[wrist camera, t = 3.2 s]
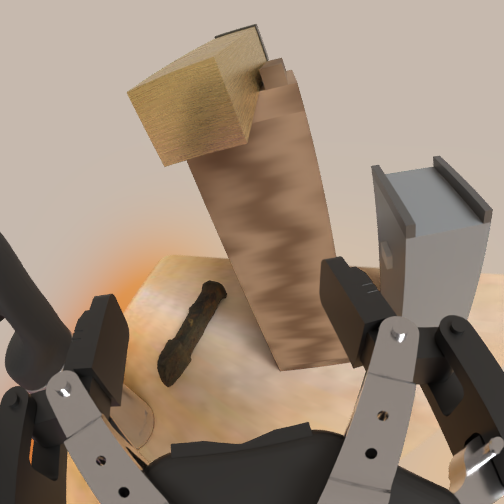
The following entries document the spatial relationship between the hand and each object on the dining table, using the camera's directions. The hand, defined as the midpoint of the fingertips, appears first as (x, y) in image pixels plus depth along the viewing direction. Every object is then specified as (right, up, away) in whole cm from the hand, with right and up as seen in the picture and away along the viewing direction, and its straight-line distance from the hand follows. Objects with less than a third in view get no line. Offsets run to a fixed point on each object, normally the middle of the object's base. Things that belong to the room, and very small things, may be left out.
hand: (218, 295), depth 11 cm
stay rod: (0, +13, +8) cm, 15 cm away
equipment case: (+23, -9, +24) cm, 34 cm away
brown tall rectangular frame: (+10, -9, +30) cm, 33 cm away
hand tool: (-7, -12, +35) cm, 38 cm away
